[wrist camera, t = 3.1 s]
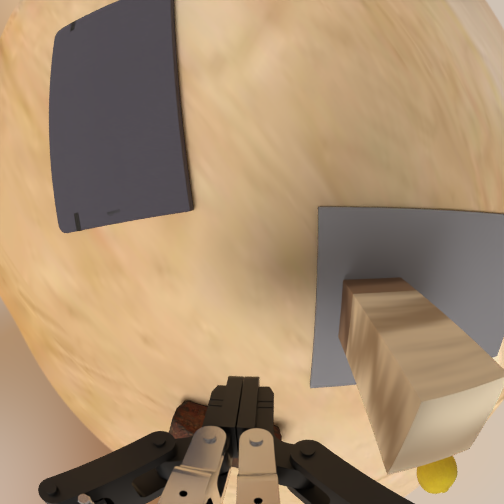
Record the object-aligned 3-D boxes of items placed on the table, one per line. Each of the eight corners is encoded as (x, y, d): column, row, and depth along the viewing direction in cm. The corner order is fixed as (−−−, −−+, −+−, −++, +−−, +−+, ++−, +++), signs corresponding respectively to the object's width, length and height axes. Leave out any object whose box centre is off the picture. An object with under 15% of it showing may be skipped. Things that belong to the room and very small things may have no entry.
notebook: (195, 209, 22) (174, -10, 17) (190, 211, 21) (170, -18, 16) (70, 231, 23) (63, 36, 19) (59, 234, 22) (55, 31, 17)
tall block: (343, 279, 22) (421, 402, 8) (400, 277, 21) (509, 375, 8) (338, 336, 23) (387, 474, 9) (392, 332, 22) (469, 448, 9)
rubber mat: (317, 206, 21) (318, 207, 21) (523, 216, 19) (526, 216, 19) (309, 385, 25) (310, 388, 24) (495, 354, 23) (496, 356, 23)
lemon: (403, 464, 28) (417, 505, 20) (426, 439, 26) (446, 482, 19) (429, 462, 28) (445, 499, 20) (451, 438, 26) (472, 476, 19)
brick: (281, 423, 26) (282, 456, 22) (269, 444, 27) (267, 475, 23) (181, 395, 26) (168, 426, 22) (176, 418, 27) (164, 448, 23)
